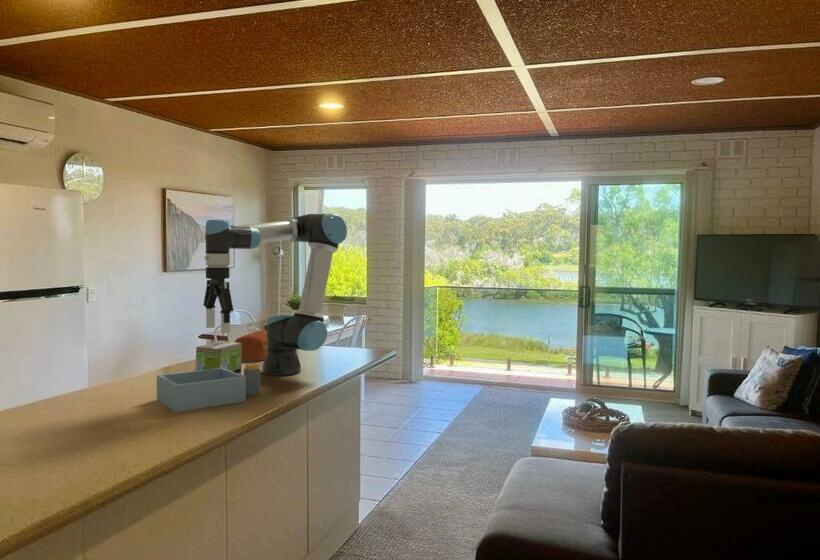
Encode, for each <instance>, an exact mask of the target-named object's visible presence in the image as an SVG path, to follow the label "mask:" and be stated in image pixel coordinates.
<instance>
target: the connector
mask: <svg viewBox="0 0 820 560" xmlns="http://www.w3.org/2000/svg"><path fill="white" fill-rule="evenodd" d="M259 366H260V365H259V364H258V363H246V364H245V368H243V376H245V377H246V396H249V397H250V396H251V397H252V396H257V395H260V394H261V369H260V367H259Z"/></svg>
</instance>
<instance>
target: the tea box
mask: <svg viewBox="0 0 820 560" xmlns="http://www.w3.org/2000/svg"><path fill="white" fill-rule="evenodd" d="M241 360H242V343H235V341H234V342H231V341H230V342H229V341H216V342H211V343H207V344H202V345H200V346H196V347H195V371H196V370H205V369H214V368H222V367H223V368H226V369H228V370H231V371H233V372H235V373H238V374H240V375H242V361H241Z"/></svg>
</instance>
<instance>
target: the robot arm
mask: <svg viewBox="0 0 820 560" xmlns="http://www.w3.org/2000/svg"><path fill="white" fill-rule="evenodd" d="M204 231H205V232H204V234H205V235H204V240H205V256H204V257H203V258H204V260H205V266H207V267H205V278H206V279H207V280H206V289H205V294H204V297H203V298H204V300H203V306H204V307H205V317H206V318H205V319H206V322H205V327H206V329H211V328H212V329H213V328H214V329H215V328H216V313H215V312H216V305H215V304H216V301H217V299H218V302H219V304H220V305H219V306H220V308H221V310H220V333H221V334H228V333H231V313H232V312H233V311H234V307H233V302H232V301H233V300H232V295H231V290H230V282H229V281H225V280H226V279H229V278H230V268H229V267H228V266H231V265H230V264H231V263H230V256H231V255H230V250H231V249H236V250H237V249H239V250H240V249H241V250H243V249H244V250H253V249H257V248H259V246H260V244H264V243H265V244H267V243H272V242H273V243H274V242H282V241H286V242H289V243H295V242H298V243H300V242H301V243H308V247H310V254H309V258H308V263H307V269H306V274H305V278H304V283H303V287H302V294H301V296H300V297H301V298H300V304H299V308H298V309H297V310H296V311H294V312H293V313H289V314H287V313H286V314H274V315H270V316H268V318H267V322H266V331H267V354H266V357H265V360H263V364H262V367H261V368H262V369H261V373H263V374H265V375H268V376H291V375H296V374H299V373H301V371H302V367H301V366H302V365H301V362H300V358H299V355H298V352H297V351H298V350H301V351H305V352H309V351H310V352H314V351H317V350H319V349H320V348H321V347H323V345H324V344H325V343H326V340H327V337H328V328H327V326H326V324H325V323H324V320H325V317H324V315H323V314H322V310H323V304H324V300H325V296H326V291H327V285H328V281H329V276H330V275H329V274H330V270H331V264H332V260H333V254H334V253H336V252H337V251H338V248H339V244H341V243H342V244H343V242H344V241H345V240H346V238H347V234H348V227H347V223H346V222H345V219H344V218H343V217H342V216H341V215H339V214H337V213H331V212H327V213H308V214H302V215H299V216H293V217H287V218H285V219H284V220H282V221H281V220H280V221H271V222H259V223H250V224H240V225H239V224H237V225H230V221H229V220H227V219H208V220H207V221H206V222H205V229H204Z"/></svg>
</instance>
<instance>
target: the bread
mask: <svg viewBox="0 0 820 560" xmlns="http://www.w3.org/2000/svg"><path fill="white" fill-rule="evenodd" d="M234 343H242V360H241V362H262V361H264V360H265V357H266V354H267V330H263V329H262V330H261V329H260V330H257V331H254V332H251V333H247V334H245V335H242V336H240V337H238V338H236V339H235V341H234Z"/></svg>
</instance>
